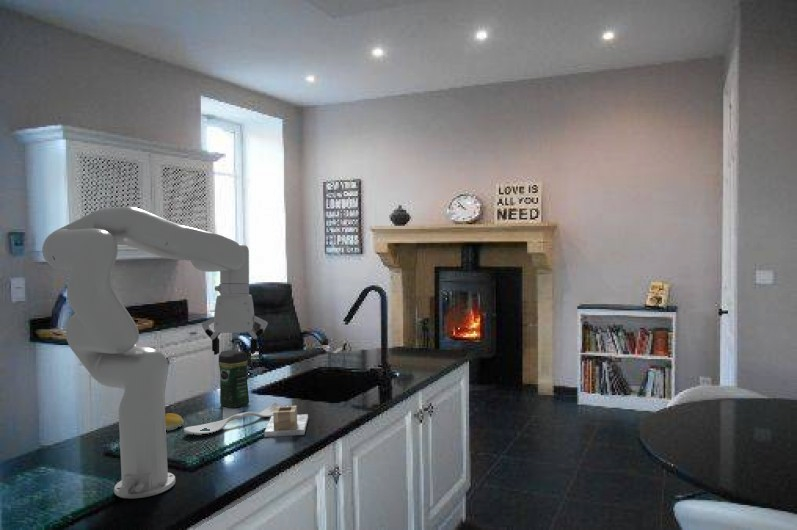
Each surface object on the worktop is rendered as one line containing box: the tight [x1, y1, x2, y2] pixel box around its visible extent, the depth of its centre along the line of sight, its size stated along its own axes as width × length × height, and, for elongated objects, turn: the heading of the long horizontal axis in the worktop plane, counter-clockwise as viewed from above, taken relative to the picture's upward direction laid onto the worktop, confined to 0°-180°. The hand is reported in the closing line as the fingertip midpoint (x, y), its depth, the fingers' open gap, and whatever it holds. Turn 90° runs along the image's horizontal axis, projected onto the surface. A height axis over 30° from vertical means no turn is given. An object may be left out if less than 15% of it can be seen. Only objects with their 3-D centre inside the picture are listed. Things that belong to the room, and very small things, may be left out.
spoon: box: [183, 402, 281, 436], centre depth 176 cm, size 9×32×4 cm, turn 133°
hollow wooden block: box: [273, 405, 298, 430], centre depth 168 cm, size 6×6×5 cm
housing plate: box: [264, 404, 309, 438], centre depth 172 cm, size 15×11×6 cm
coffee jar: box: [218, 349, 250, 408], centre depth 198 cm, size 10×8×19 cm
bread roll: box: [165, 412, 185, 428], centre depth 175 cm, size 8×9×4 cm
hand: (234, 353), depth 158 cm, fingers open, 9 cm apart
